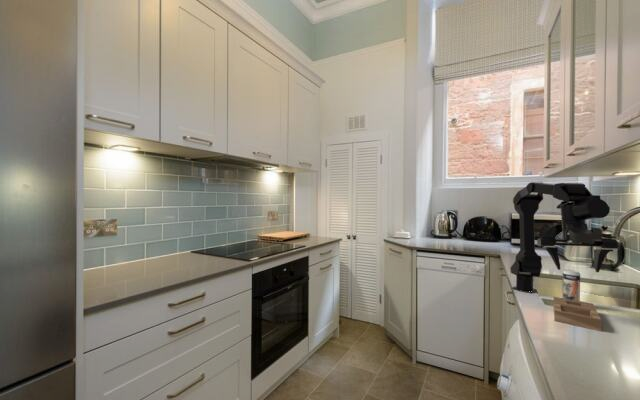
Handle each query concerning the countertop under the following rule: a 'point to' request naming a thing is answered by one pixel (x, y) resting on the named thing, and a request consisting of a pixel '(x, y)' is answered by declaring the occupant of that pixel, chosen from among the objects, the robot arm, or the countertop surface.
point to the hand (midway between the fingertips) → (577, 270)
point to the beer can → (571, 285)
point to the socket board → (576, 313)
